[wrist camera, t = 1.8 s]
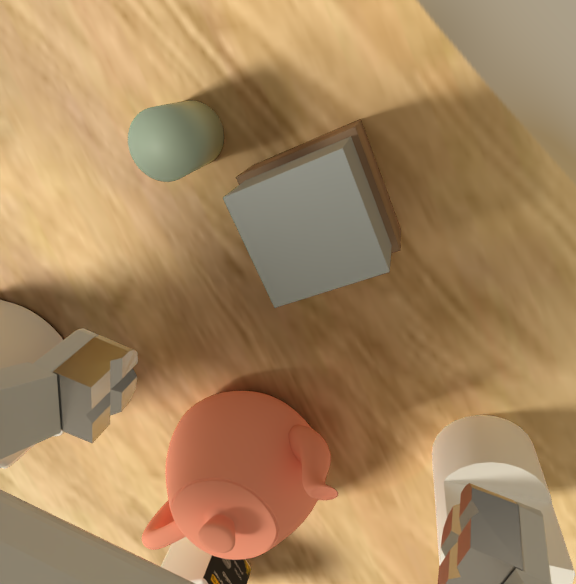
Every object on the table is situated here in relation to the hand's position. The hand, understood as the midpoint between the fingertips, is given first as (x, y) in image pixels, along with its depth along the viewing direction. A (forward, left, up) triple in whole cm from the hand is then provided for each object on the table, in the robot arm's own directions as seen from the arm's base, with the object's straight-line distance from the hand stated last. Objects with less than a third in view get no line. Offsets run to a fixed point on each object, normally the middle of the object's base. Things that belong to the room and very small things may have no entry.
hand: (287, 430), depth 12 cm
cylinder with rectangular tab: (+1, -28, -30) cm, 41 cm away
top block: (-4, -1, -25) cm, 26 cm away
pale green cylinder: (-12, +8, -30) cm, 33 cm away
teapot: (-19, -21, -30) cm, 42 cm away
